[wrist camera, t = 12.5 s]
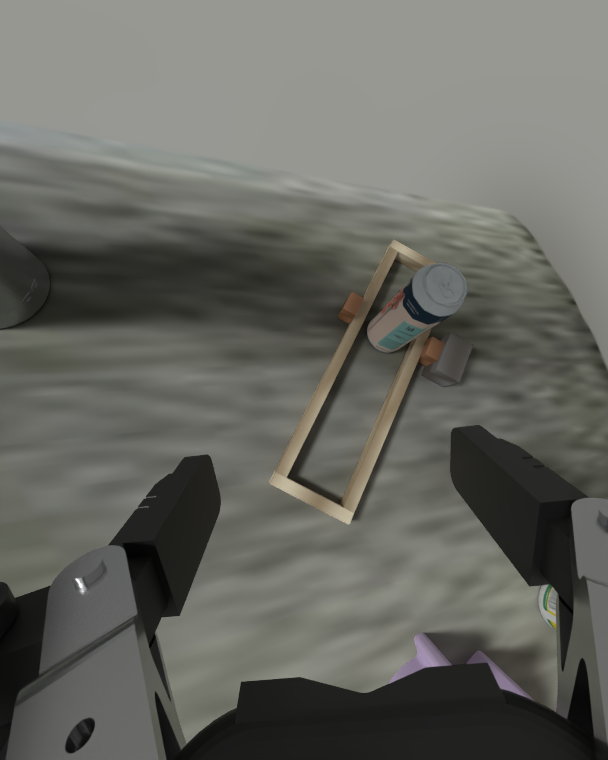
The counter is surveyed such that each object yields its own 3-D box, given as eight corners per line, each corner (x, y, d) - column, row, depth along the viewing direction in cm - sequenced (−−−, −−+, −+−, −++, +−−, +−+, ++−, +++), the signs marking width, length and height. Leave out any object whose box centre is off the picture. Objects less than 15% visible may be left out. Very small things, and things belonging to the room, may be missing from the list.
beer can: (395, 312, 37) (459, 253, 25) (408, 348, 36) (480, 304, 24) (360, 321, 36) (410, 263, 24) (372, 358, 35) (430, 316, 23)
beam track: (255, 474, 30) (254, 477, 27) (377, 240, 38) (387, 224, 36) (383, 541, 31) (396, 551, 28) (477, 297, 39) (495, 285, 36)
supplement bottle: (529, 582, 33) (638, 638, 23) (568, 569, 34) (688, 618, 24) (545, 637, 32) (665, 718, 22) (585, 622, 33) (716, 693, 23)
